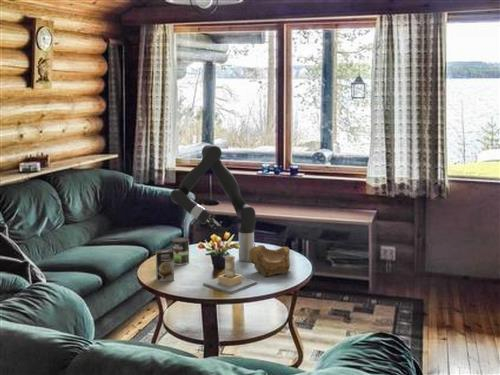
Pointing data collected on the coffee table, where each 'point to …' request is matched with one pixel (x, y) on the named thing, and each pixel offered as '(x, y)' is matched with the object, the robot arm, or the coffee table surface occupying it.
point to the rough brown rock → (270, 260)
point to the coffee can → (180, 250)
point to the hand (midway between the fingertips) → (224, 231)
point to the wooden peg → (230, 266)
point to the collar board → (230, 283)
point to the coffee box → (164, 265)
